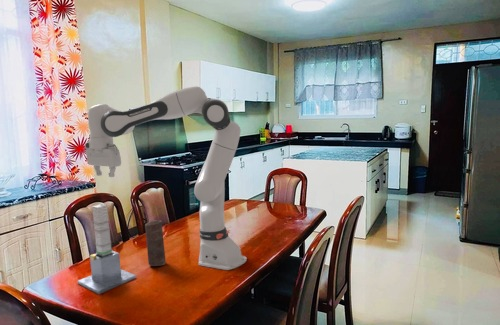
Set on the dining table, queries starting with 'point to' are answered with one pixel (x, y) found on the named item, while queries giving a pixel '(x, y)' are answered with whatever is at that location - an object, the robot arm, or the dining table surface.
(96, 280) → the stand
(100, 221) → the column
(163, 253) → the grey upright block
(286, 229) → the dining table surface
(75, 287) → the dining table surface
